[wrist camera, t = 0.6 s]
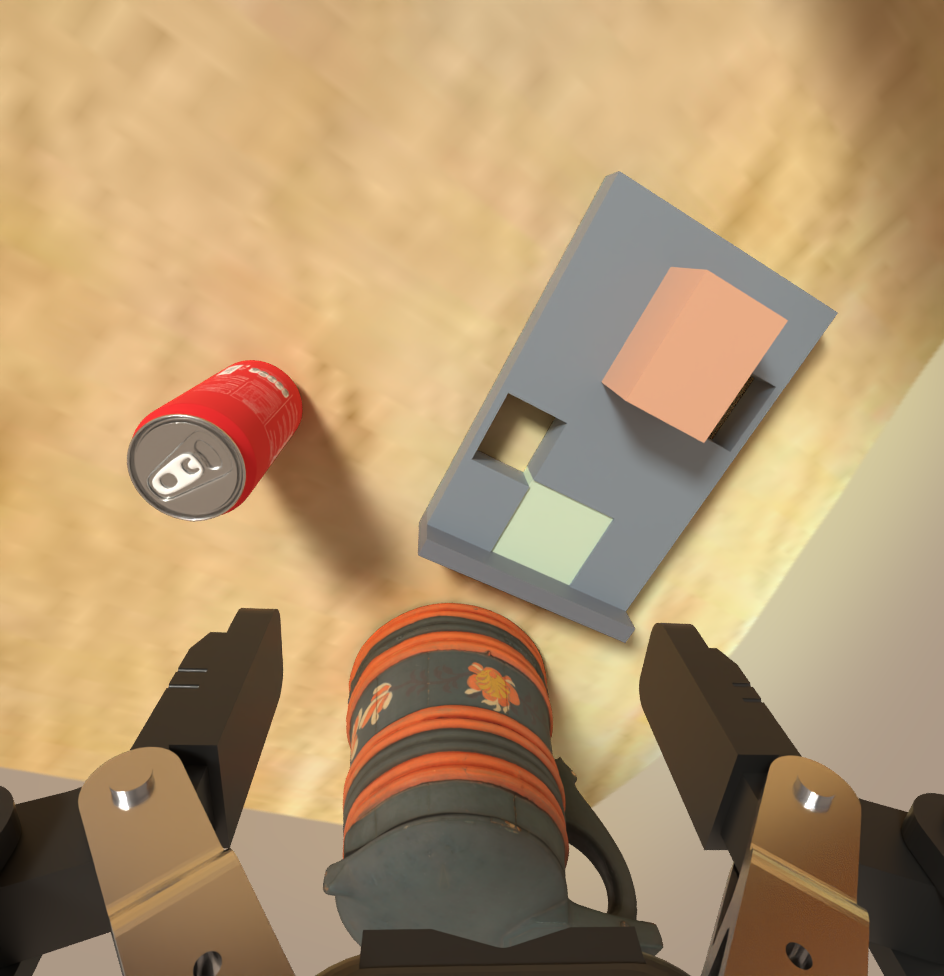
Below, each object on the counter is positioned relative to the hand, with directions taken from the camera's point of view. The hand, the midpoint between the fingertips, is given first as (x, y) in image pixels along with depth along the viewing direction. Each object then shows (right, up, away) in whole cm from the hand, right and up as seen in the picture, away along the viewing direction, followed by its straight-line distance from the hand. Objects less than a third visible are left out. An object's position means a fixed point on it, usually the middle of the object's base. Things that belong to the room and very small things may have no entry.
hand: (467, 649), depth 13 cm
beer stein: (0, -12, +32) cm, 34 cm away
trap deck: (+9, +8, +25) cm, 27 cm away
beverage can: (-12, +9, +23) cm, 28 cm away
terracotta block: (+11, +11, +21) cm, 26 cm away
